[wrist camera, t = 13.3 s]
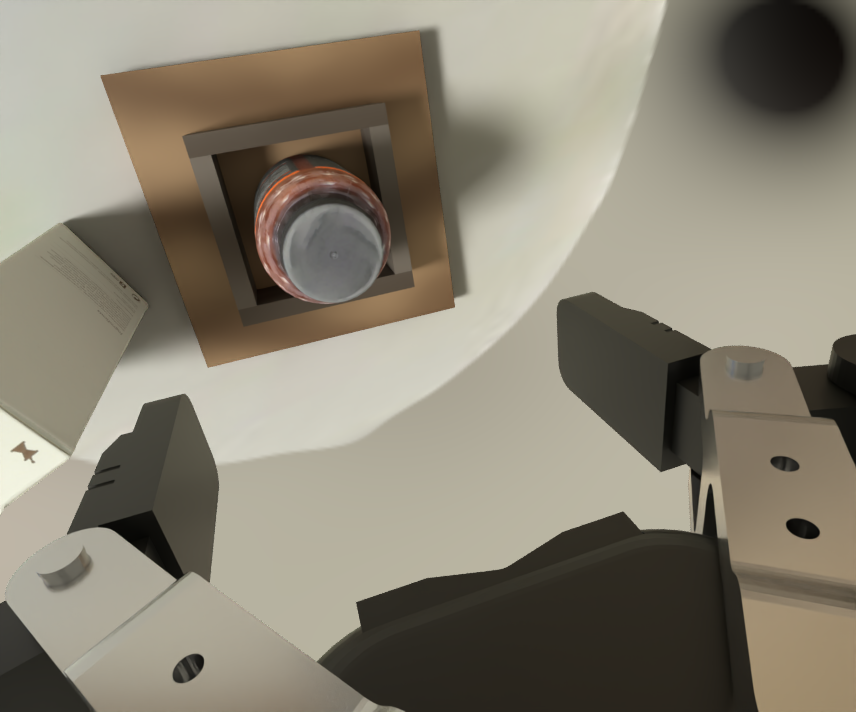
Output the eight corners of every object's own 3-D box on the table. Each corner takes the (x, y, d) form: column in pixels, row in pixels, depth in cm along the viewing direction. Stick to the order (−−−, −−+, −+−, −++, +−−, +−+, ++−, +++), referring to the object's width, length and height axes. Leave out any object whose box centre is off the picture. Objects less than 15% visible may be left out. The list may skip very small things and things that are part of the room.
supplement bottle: (245, 247, 31) (240, 313, 21) (263, 139, 29) (266, 155, 19) (348, 268, 33) (387, 337, 23) (370, 168, 31) (423, 197, 21)
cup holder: (107, 77, 27) (82, 71, 23) (412, 33, 30) (435, 22, 26) (209, 357, 35) (203, 390, 31) (448, 300, 38) (470, 322, 34)
